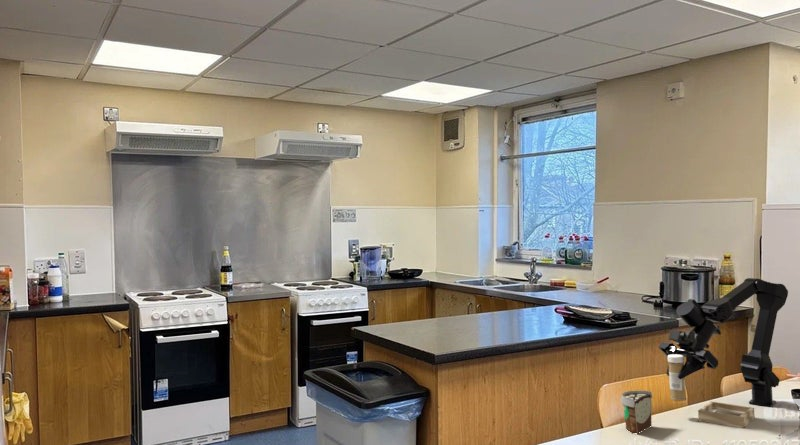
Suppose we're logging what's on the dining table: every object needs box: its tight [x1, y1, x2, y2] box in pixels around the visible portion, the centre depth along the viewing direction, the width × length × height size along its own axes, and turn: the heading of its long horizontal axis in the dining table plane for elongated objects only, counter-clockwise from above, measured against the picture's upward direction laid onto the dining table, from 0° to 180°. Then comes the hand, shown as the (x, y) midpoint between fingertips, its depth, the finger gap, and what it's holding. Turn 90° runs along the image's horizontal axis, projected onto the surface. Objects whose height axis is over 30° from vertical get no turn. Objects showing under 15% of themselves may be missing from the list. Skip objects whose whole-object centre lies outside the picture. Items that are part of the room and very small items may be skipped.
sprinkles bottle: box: [667, 354, 687, 402], centre depth 185 cm, size 5×5×14 cm
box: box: [697, 401, 755, 429], centre depth 181 cm, size 12×12×3 cm
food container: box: [620, 390, 653, 435], centre depth 176 cm, size 12×6×10 cm, turn 135°
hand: (673, 376), depth 184 cm, fingers closed on sprinkles bottle, 4 cm apart
